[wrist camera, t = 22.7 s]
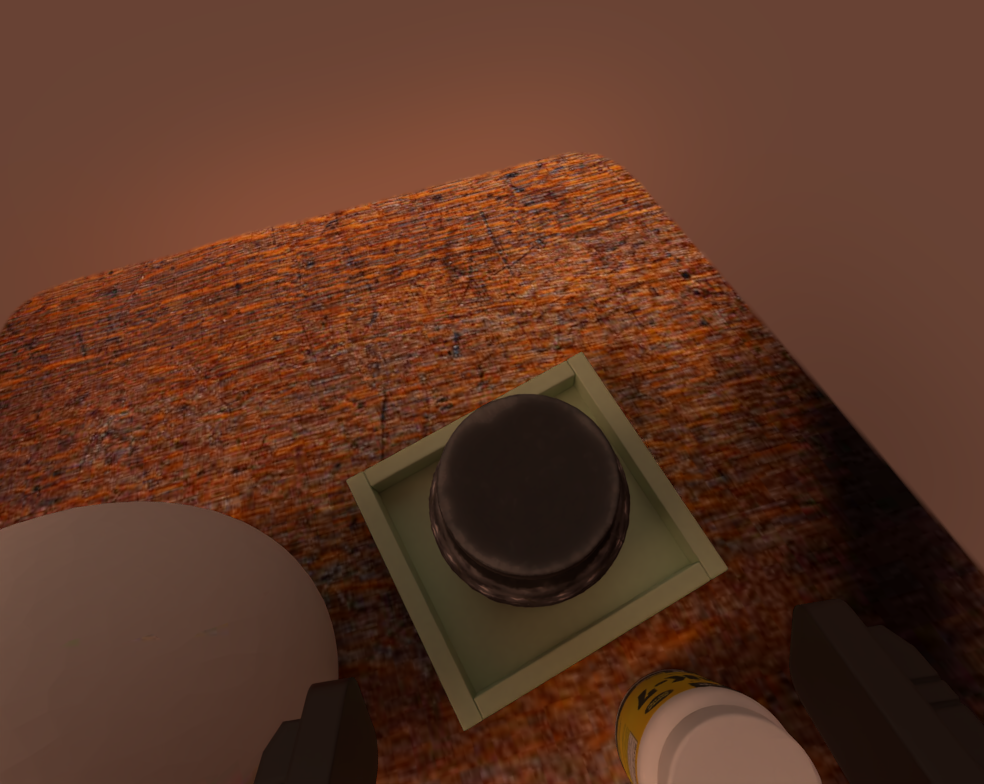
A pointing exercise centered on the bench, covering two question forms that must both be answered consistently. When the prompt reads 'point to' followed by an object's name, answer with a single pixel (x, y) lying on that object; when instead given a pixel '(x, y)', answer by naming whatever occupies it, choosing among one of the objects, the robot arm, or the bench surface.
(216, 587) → the decorative egg
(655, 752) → the supplement bottle
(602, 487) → the pill bottle
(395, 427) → the bench surface
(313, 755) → the robot arm
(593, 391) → the sage tray
